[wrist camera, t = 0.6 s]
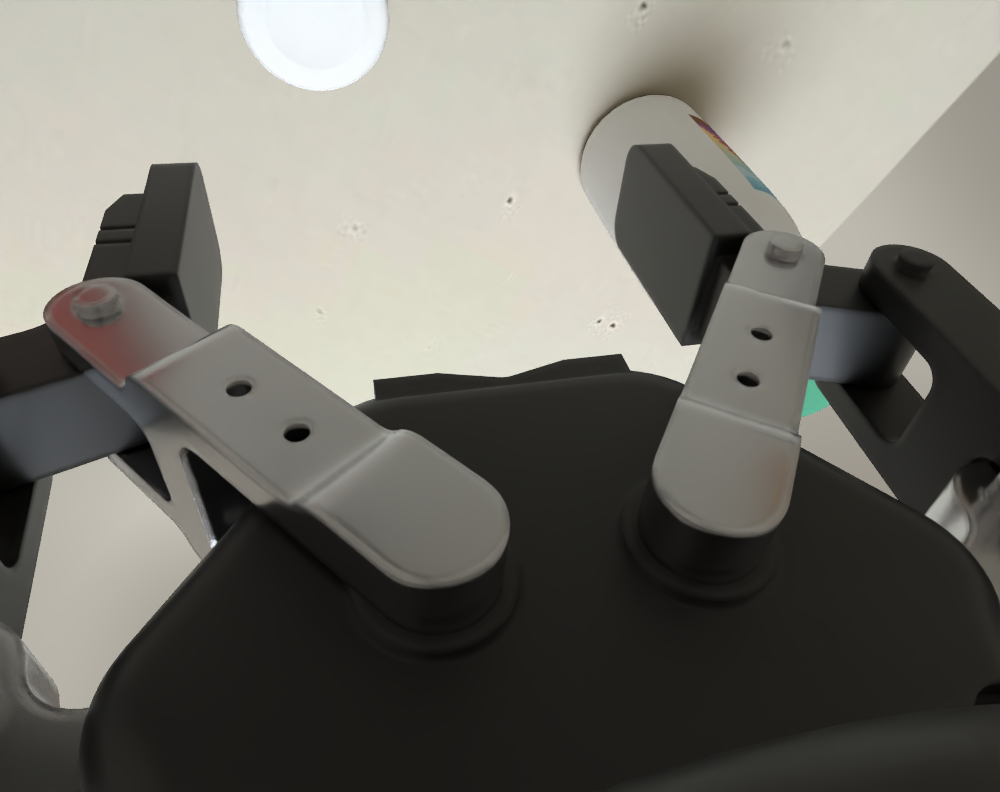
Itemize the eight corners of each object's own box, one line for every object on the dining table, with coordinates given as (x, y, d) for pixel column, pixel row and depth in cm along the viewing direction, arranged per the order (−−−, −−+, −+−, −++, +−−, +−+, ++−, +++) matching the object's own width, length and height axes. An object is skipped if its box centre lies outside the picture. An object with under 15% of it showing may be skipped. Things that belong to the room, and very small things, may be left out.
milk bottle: (572, 218, 45) (708, 461, 32) (582, 97, 40) (752, 328, 26) (686, 203, 47) (863, 430, 33) (711, 83, 41) (937, 297, 28)
